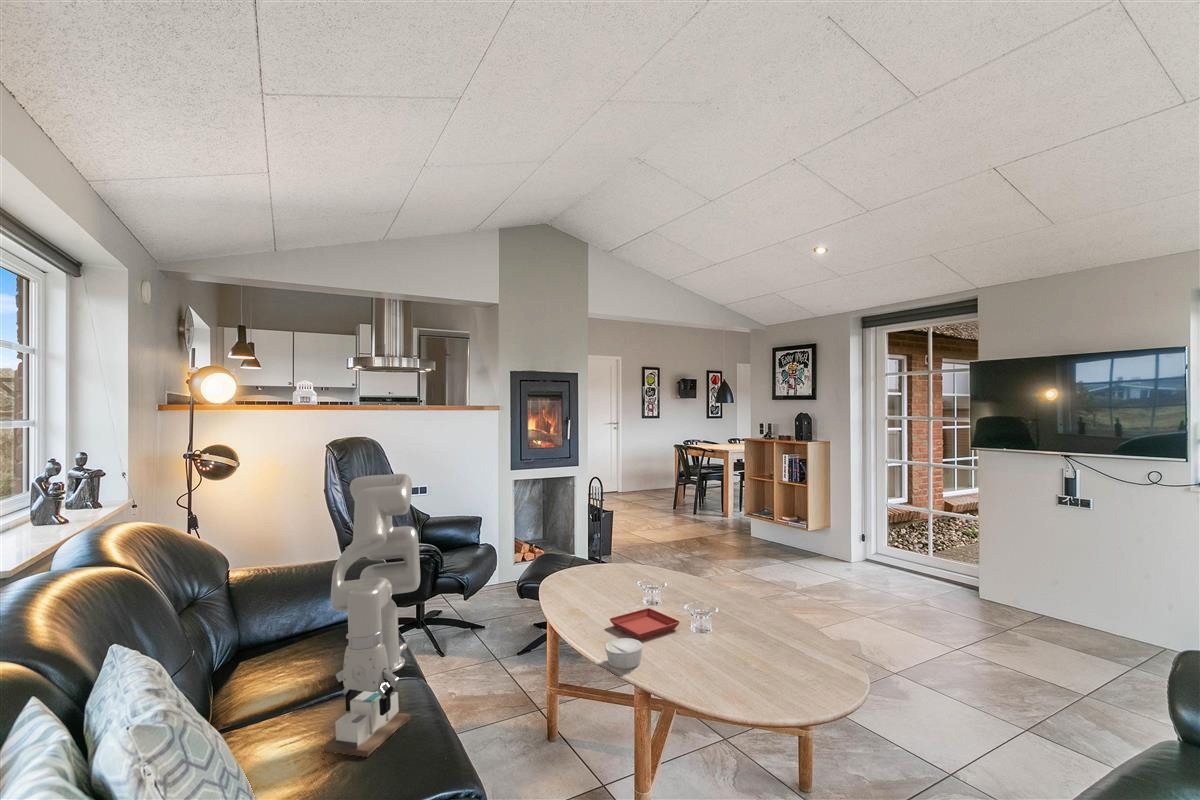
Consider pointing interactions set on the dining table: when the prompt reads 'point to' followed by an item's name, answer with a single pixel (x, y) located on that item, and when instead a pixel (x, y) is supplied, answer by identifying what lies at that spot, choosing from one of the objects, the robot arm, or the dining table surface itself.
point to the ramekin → (624, 653)
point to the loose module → (368, 709)
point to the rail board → (371, 741)
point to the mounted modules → (360, 723)
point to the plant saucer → (644, 623)
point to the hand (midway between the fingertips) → (368, 710)
